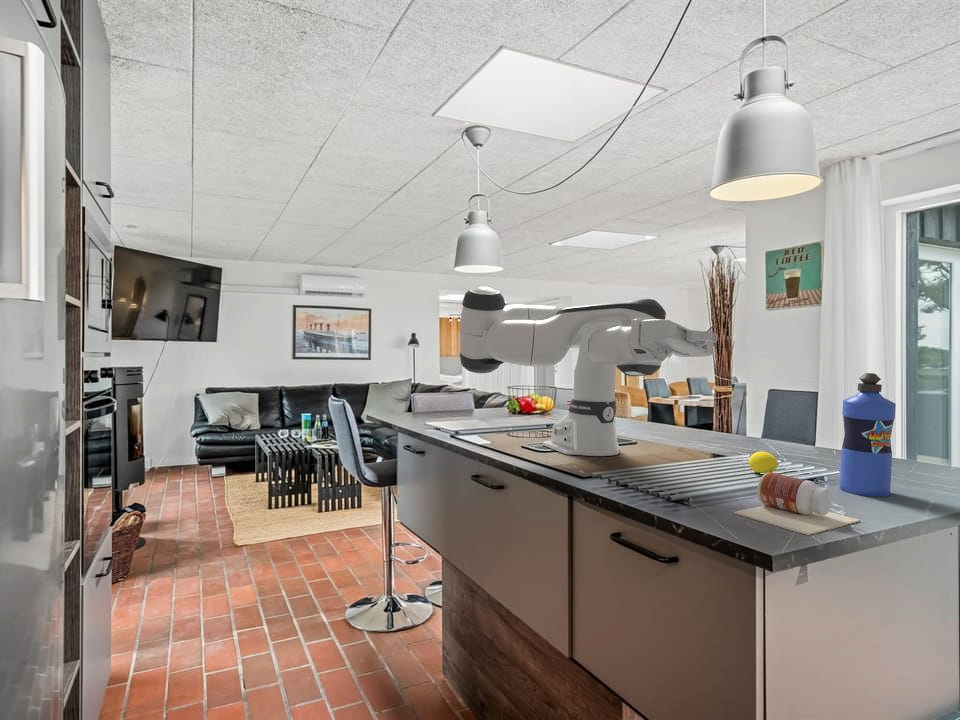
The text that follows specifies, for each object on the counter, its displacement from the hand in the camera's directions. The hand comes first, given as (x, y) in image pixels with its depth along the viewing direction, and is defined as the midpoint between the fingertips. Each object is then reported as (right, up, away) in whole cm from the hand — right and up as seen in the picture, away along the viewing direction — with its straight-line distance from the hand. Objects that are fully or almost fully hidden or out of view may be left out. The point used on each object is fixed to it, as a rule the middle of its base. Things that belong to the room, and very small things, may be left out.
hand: (714, 336), depth 121 cm
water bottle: (+34, -33, +6) cm, 48 cm away
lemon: (+19, -32, +20) cm, 42 cm away
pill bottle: (+7, -29, -7) cm, 31 cm away
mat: (+9, -33, -14) cm, 37 cm away
